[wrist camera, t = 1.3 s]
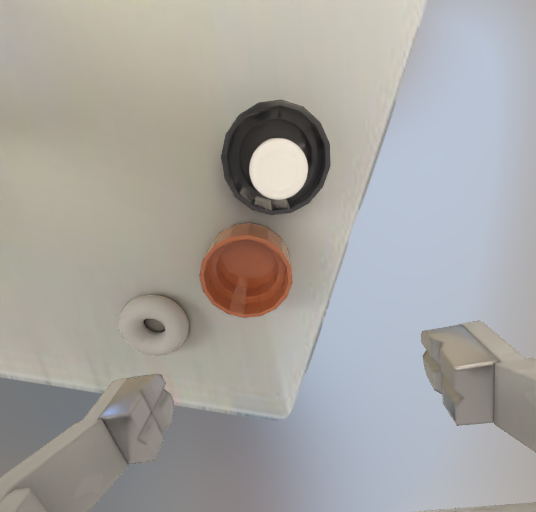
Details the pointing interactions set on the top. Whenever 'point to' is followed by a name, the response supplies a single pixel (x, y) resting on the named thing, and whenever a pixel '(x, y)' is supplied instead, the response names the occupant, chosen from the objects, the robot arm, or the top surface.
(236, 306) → the terracotta bowl
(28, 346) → the top surface
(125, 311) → the donut
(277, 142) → the sprinkles bottle
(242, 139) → the charcoal bowl
